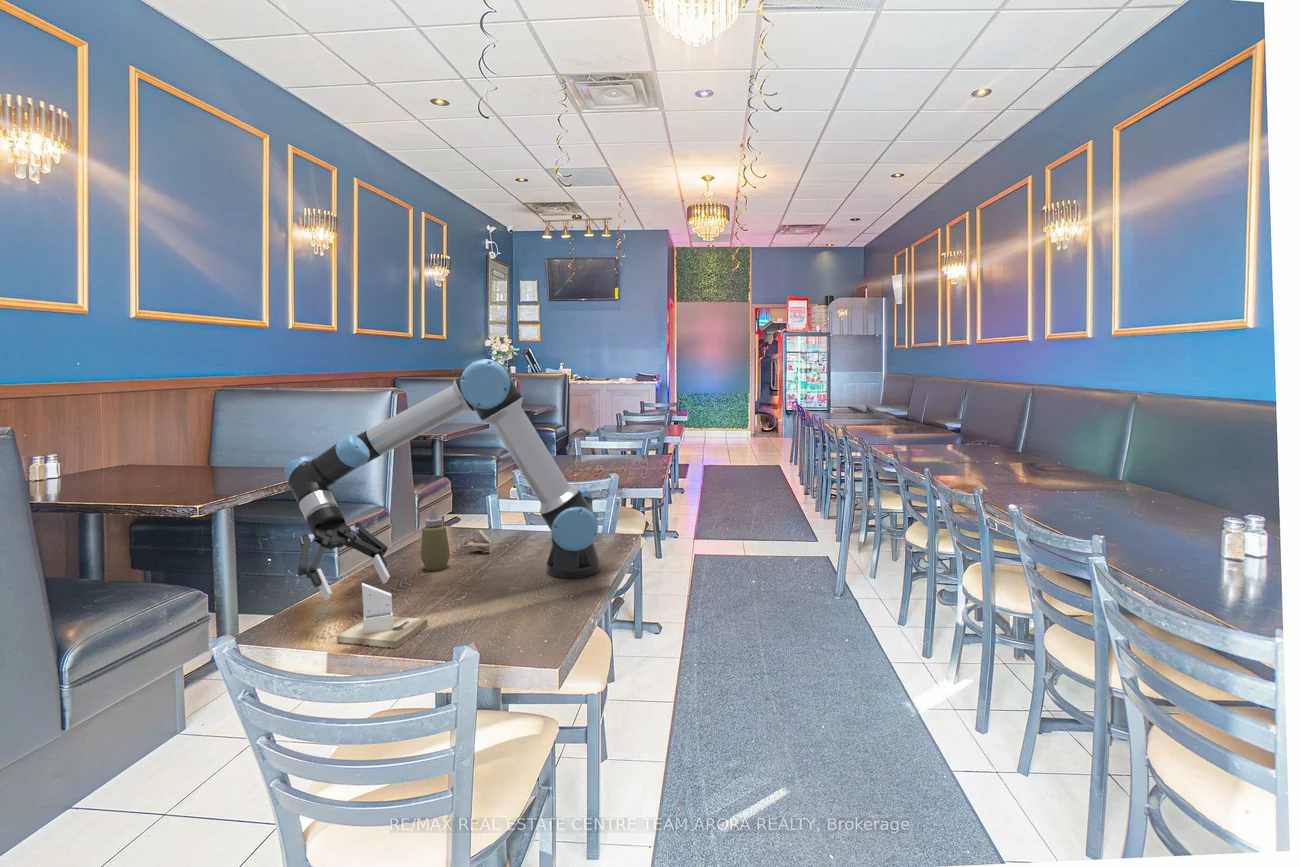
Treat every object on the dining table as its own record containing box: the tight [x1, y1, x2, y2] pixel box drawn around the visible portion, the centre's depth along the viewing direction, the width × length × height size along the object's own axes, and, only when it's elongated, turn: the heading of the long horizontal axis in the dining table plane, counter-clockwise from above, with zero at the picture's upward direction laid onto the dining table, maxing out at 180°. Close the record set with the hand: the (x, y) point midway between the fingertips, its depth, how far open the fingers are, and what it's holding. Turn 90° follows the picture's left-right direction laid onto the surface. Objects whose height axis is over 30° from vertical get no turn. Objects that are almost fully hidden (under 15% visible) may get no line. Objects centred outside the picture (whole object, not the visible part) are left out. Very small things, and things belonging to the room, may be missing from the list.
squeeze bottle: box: [420, 506, 451, 571], centre depth 189 cm, size 8×8×18 cm
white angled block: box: [361, 582, 394, 634], centre depth 142 cm, size 4×10×9 cm, turn 112°
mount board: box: [336, 616, 429, 649], centre depth 143 cm, size 14×12×2 cm
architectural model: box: [466, 529, 493, 554], centre depth 204 cm, size 3×7×7 cm, turn 78°
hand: (358, 588), depth 148 cm, fingers open, 13 cm apart
